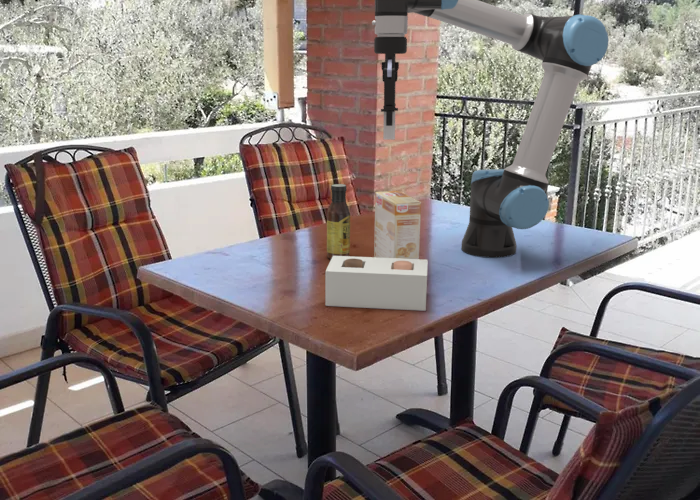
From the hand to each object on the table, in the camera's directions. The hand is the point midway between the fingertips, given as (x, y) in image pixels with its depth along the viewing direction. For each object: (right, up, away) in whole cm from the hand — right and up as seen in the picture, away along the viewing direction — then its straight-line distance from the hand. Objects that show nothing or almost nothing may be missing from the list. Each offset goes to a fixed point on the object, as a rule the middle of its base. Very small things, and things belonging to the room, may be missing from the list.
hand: (389, 139), depth 169 cm
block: (-3, -38, -8) cm, 39 cm away
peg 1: (-9, -37, -8) cm, 39 cm away
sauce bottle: (-13, -29, +23) cm, 39 cm away
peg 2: (+2, -37, -9) cm, 38 cm away
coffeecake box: (+2, -32, +11) cm, 34 cm away
